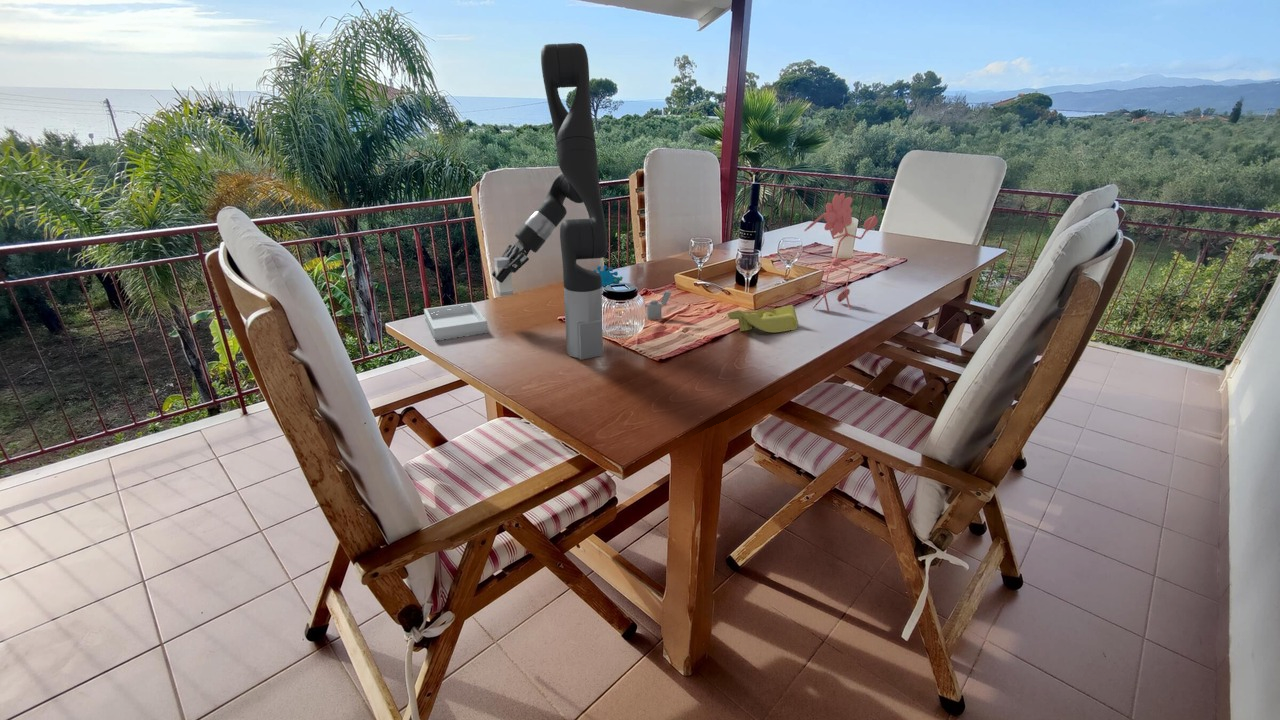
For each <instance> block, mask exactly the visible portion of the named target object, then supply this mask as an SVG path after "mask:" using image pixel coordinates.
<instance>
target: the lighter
mask: <svg viewBox="0 0 1280 720" xmlns="http://www.w3.org/2000/svg"><path fill="white" fill-rule="evenodd" d="M671 295H672V292H671V291H669V290H666V289H665V291H664V293H663V295H662V297H661V299H660V301H659V302H658V300H657V299H654V300H653V299H652V300H651V301H649V303H646V318H647V319H648V320H652V319H661V318H662V305H663V306H667V304H668V301H669V299H670V298H671Z"/></svg>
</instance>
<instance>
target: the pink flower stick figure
mask: <svg viewBox="0 0 1280 720" xmlns="http://www.w3.org/2000/svg"><path fill="white" fill-rule="evenodd" d="M845 195H846V193H844V192H843V193H840V194H838V193H835V194H834V195H833V198H832V202H827V203H826V204H825V211H826V212H824V213H822V214H821V215H819V217H816V219H815V220H813V221H812V222H811V223H810V224H809V225H808V226H807V227H806V228H805V229H804V230H803V231H804V232H806V231H808V230H810V229H811V228H812V227H813V226H815V225H816V223H818V222H819V221H821V220H822V218H823V219H824V221H825V222H826V223H825V224H824V230H825V231H829V232H830V234H831V237H832V240H835V239H839V238H840V239H839V240H838V244H837V248H836V252H835V253H836V254H835V256H834V258H833V259H832V260H831V264H830V268H829V269H828V272H827V275H826V281H825V285H824V291H823V294H822V297H817V299H818V301H817V303H815V304H814V306H813V307H812V309H815V308H816V307H817V305H819V304H820V302H822V301H823V299H824V302H825V305H826V306H825V307H826V311H827V313H830V307H829V303H828V299H827V294H828V291H826V289H827V285H828V282H829V281H828V280H829V274H830V273H831V269H832V268H833V267H839V266H842V267H843V268H844V267H845V268H847V269H848V270H849V272H848V276H847V281H846V285H845V287H844V289H843V290H842V291H841V292H840V293H839V294H838V295H837V298H836V300H837V302H838V303H841V302H842V301H844V300H845V299H846V302H847V308H848V309H851V305H850V301H849V295H850V293H851V290H850V289H849V288H848V283H849V279H850V275H851V273H852V268H851V267H849V266H847V265H845V264H842V259H841V258H839V257H837V256H838V253H839V249H840V245H841V243H842V241H843V240H844V239H845V238H847V237H850V238H851V237H852V238H854V239H858V240H862V239H863V238H864V236H865V235H866V233H867V232H869V231H870V230H872V229H874V228H875V227H877V225H878V222H879V220H878V217H877V216H876V215H873V216H871V217H868V218H867V219H866V220H865V221H864V223H863V228H864V231H863V233H862V235H861V236H857V235H853V234H850V233H849V232H848V228H847V226H850V225H851V224H853V223H852V222H853V218H852V213H853V208H852V207H851V205H852V203H853V197H851V196H848V197H846V196H845ZM845 197H846V198H845ZM843 232H845V233H843ZM838 233H839V234H840V235H837V234H838ZM842 233H843V234H842ZM836 235H837V236H836ZM809 299H811V297H810V298H809V297H808V298H806V300H809ZM794 304H795V307H796V306H797V305H796V304H797V303H794ZM861 305H863V306H866V305H865V304H863V303H861Z"/></svg>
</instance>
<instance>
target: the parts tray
mask: <svg viewBox="0 0 1280 720" xmlns="http://www.w3.org/2000/svg"><path fill="white" fill-rule="evenodd" d="M464 305H467V306H464ZM461 306H463V307H461ZM447 309H451V310H447ZM437 311H439V312H437ZM423 312H424V317H425V318H424V319H425V320H424V321H425V322H426V324H428V325H427V326H428V328H429V331H430V333H431V335H432V338H433V339H435V340H434V342H438V341H437V340H439V341H445V340H444V339H446V340H451V338H452V339H457V337H459V338H464V337H463V336H465V337H469V336H470V335H471V336H477V335H476V334H478V335H482V334H483V333H484V334H488V333H489V330H488V329H489V328H488V321H487V318H485V317H484V315H483V314H482V313H481V311H480V310H479V309H478V307H477V306H476V304H475V303H474V302H465V303H458V304H451V305H443V306H436V307H428V308H423ZM433 312H435V313H433ZM431 313H433V314H431ZM436 314H438V315H436Z"/></svg>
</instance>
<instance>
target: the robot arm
mask: <svg viewBox="0 0 1280 720" xmlns="http://www.w3.org/2000/svg"><path fill="white" fill-rule="evenodd" d="M540 63H541V64H540V65H541V73H542V80H543V84H544V89H545V95H546V99H547V105H548V110H549V113H550V117H551V122H552V126H553V127H552V128H553V132H554V138H555V147H556V158H557V163H558V166H559V169H560V171H561V172H560V173H558V174H557V175H556V177H555V178H554V179H553V182H552V184H551V186H550V188H549V190H548V192H547V195H546V198H545V199H544V201H543V202H542V203H541V204H540V205H539V207H538V208H537V209H536V210H535V211H534V212H533V213H532V214H531V215H530V216H529V217H528V218H527V219H526V220H525V222H524V223H523V224H522V226H520V228H519V229H518V230H517V231H516V233H515V235H514V236H515V238H516V239H517V241H516V242H515V243H513V244H509V245H508V246H507V247H506V249H505V250H504V252H503V253H502V255H501V257H507V258H508V262H507V263H506V265H505V266H504V268H505V269H504V268H503V269H502V270H501V271H500V273H499V274H498V275H497V276H496V275H495V270H493V272H492V273H491V275H492V277H494V278H495V280H496V279H497V280H498V281H499V282H500V283H502V282H503V281H504V280H505V279H506V278H507V276H508V275H509V274H510V273H511V274H512V273H514V274H515V273H517V272H518V271H519V269H520V268H522V267H523V266H524V265H525V264H526V263H527V262H528V261H529V259H530V258H529V257H528V255H529V253H530V252H532V253H537V252H538V251H539V250H540V249H541V248H542V247H543V245H544V244H545V243H546V241H548V239H549V238H550V237H551V235H552V234H553V232H554V231H555V229H556V228H557V227H558V225H559V224H560V223H561V224H560V227H559V239H560V240H559V241H560V249H561V261H562V277H563V279H562V280H563V297H564V298H563V300H564V319H565V320H564V321H565V322H564V324H565V341H566V354H567V355H569V356H570V357H573V358H577V359H579V360H581V361H582V360H587V359H592V358H597V357H602V356H604V347H603V346H604V342H603V341H604V339H603V338H604V337H603V336H604V335H603V333H604V332H603V290H602V289H603V287H602V278H601V276H600V274H599V272H598V271H597V272H594V271H593V270H590V269H588V268H585V267H582V266H580V265H579V264H577V260H591V259H592V260H593V259H595V260H596V259H602V258H605V257H606V255H607V254H608V247H609V244H608V243H609V242H608V241H609V240H608V232H607V225H606V219H605V214H604V208H603V203H602V197H601V196H602V195H601V188H600V180H599V164H598V151H597V143H596V136H595V129H594V124H593V123H594V122H593V115H592V113H593V112H592V103H591V85H590V66H589V57H588V53H587V50H586V47H585V46H584V45H583V44H582V43H578V42H574V43H573V42H570V43H549V44H547V43H546V44H544V45H543V46H542V48H541V50H540ZM559 88H562V89H563V88H576V89H575V96H574V99H573V103H572V104H571V107H570V109H569V111H568V110H567V108H566V107H565V105H564V104H563V102H562V99H561V97H560V94H559ZM566 198H567V200H569V201H571V202H573V203H575V204H584V206H585V208H586V211H587V213H588V217H589V218H571V219H564V218H565V217H566V216H567V214H568V213H567V212H568V210H567V208H566V207H565V206H564V202H565V200H566ZM563 219H564V220H563Z"/></svg>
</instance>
